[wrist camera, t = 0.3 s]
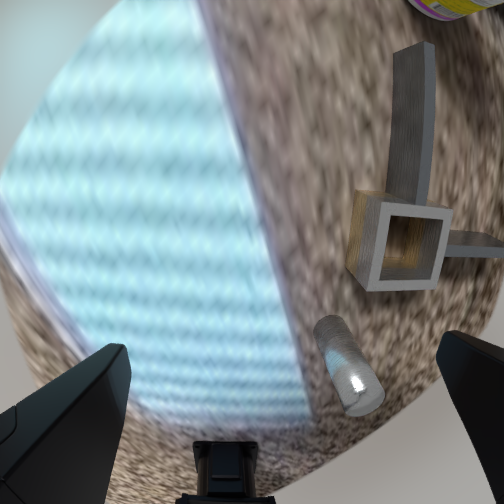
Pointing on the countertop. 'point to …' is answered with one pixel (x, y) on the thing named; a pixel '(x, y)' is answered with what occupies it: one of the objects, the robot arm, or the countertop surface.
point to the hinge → (409, 193)
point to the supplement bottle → (452, 7)
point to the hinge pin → (348, 367)
